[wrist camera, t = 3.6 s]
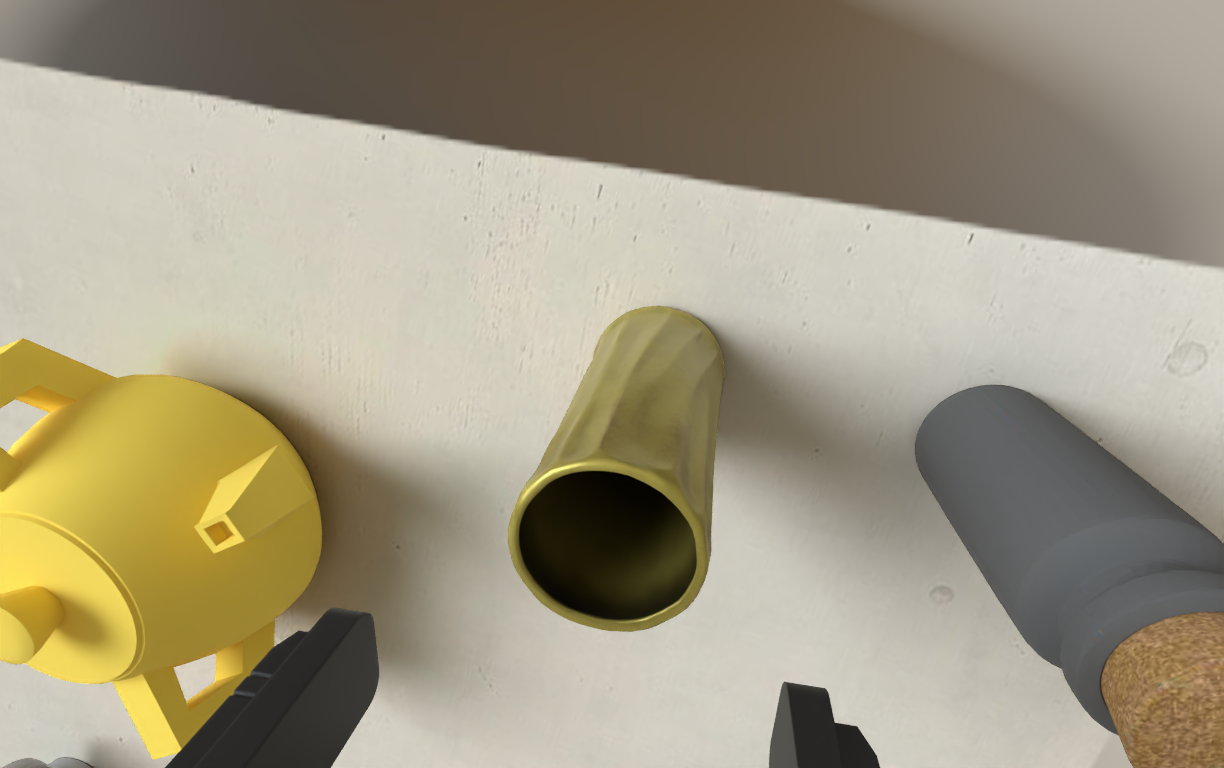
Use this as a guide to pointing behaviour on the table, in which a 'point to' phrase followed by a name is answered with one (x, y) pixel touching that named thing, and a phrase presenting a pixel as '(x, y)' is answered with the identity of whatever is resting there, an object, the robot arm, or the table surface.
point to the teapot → (146, 536)
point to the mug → (57, 767)
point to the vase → (627, 479)
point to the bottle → (1088, 568)
